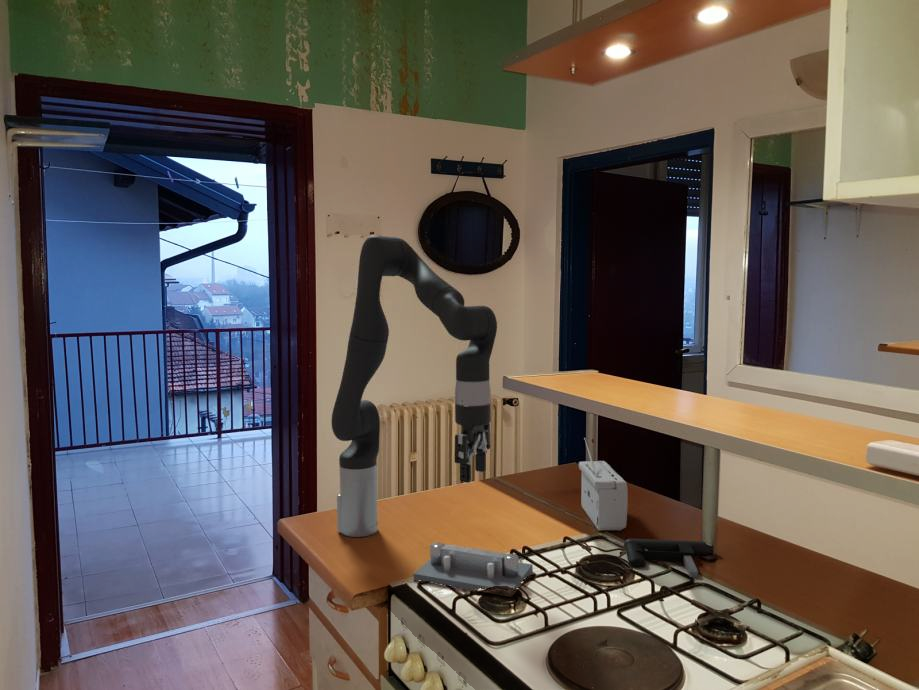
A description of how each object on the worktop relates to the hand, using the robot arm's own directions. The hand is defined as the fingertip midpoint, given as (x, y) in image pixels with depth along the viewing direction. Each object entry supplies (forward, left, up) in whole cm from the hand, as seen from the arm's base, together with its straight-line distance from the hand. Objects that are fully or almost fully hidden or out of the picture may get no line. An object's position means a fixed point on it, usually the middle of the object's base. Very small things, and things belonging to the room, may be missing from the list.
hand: (473, 476), depth 149 cm
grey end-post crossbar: (0, 0, -20) cm, 20 cm away
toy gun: (+39, +24, -23) cm, 50 cm away
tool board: (0, 0, -22) cm, 22 cm away
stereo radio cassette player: (+18, +46, -22) cm, 54 cm away
